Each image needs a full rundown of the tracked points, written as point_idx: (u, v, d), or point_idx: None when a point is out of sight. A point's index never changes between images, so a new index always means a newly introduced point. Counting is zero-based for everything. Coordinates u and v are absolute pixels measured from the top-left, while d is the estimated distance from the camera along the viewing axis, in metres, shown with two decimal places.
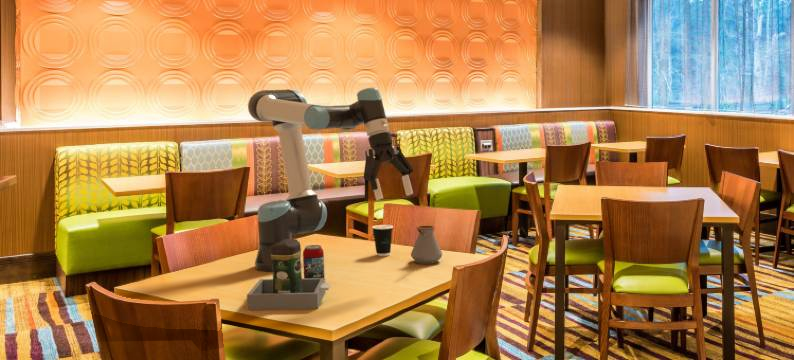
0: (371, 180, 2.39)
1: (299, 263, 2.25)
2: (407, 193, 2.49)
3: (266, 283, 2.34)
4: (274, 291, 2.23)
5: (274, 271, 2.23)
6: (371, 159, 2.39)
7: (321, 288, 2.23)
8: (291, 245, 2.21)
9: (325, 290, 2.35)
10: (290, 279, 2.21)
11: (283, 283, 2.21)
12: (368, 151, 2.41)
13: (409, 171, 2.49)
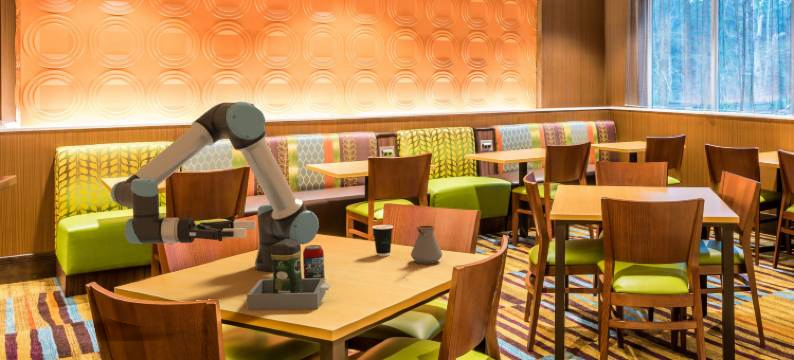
0: None
1: (299, 263, 2.25)
2: None
3: (266, 283, 2.34)
4: (274, 291, 2.23)
5: (274, 271, 2.23)
6: None
7: (321, 288, 2.23)
8: (291, 245, 2.21)
9: (325, 290, 2.35)
10: (290, 279, 2.21)
11: (283, 283, 2.21)
12: None
13: (218, 238, 2.16)
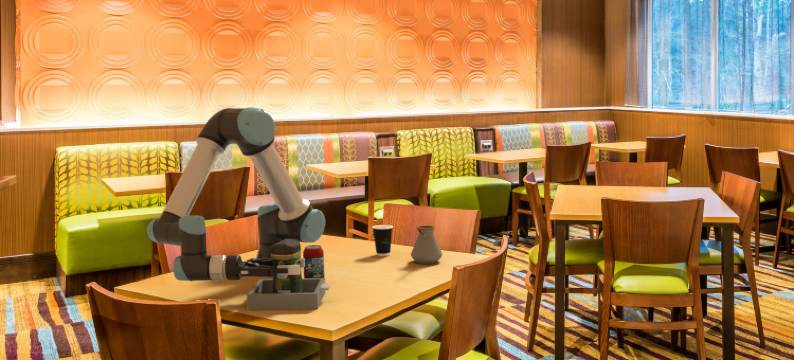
0: None
1: (299, 263, 2.25)
2: None
3: (266, 283, 2.34)
4: (274, 291, 2.23)
5: None
6: None
7: (321, 288, 2.23)
8: (292, 245, 2.21)
9: (325, 290, 2.35)
10: (290, 279, 2.21)
11: (283, 283, 2.21)
12: None
13: (274, 275, 2.19)
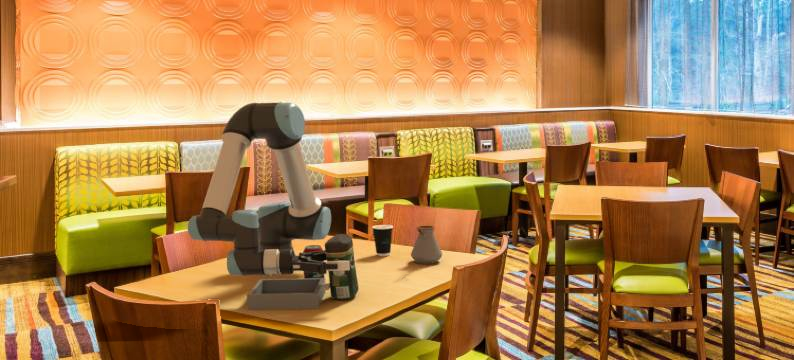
0: None
1: (353, 258, 2.27)
2: None
3: (266, 283, 2.34)
4: (332, 288, 2.25)
5: None
6: None
7: (321, 288, 2.23)
8: (346, 241, 2.23)
9: (325, 290, 2.35)
10: (347, 275, 2.24)
11: (341, 279, 2.23)
12: None
13: (323, 271, 2.17)
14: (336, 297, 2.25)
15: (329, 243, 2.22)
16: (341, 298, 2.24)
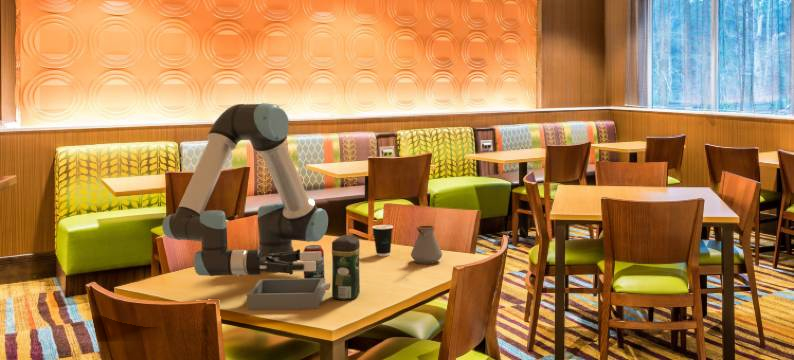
0: None
1: (358, 260, 2.28)
2: None
3: (266, 283, 2.34)
4: (334, 287, 2.25)
5: (335, 267, 2.25)
6: None
7: (321, 288, 2.23)
8: (353, 242, 2.24)
9: (325, 290, 2.35)
10: (351, 275, 2.24)
11: (344, 279, 2.24)
12: None
13: None
14: (337, 296, 2.25)
15: (337, 241, 2.23)
16: (342, 298, 2.25)
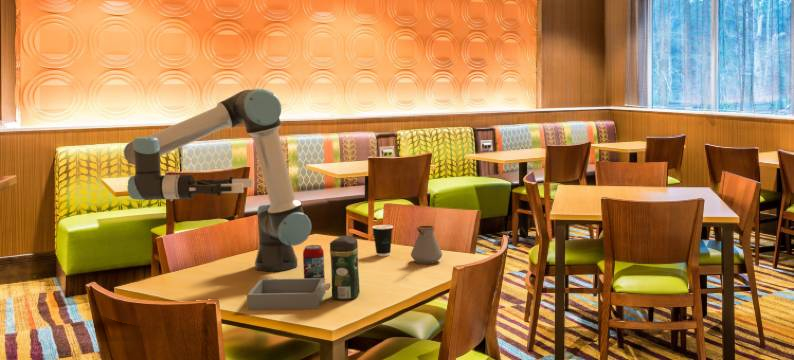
0: None
1: (357, 260, 2.28)
2: None
3: (266, 283, 2.34)
4: (333, 287, 2.25)
5: (333, 268, 2.25)
6: None
7: (321, 288, 2.23)
8: (351, 242, 2.24)
9: (325, 290, 2.35)
10: (350, 275, 2.24)
11: (343, 279, 2.24)
12: None
13: (217, 193, 2.25)
14: (337, 297, 2.25)
15: (335, 242, 2.23)
16: (342, 298, 2.25)
